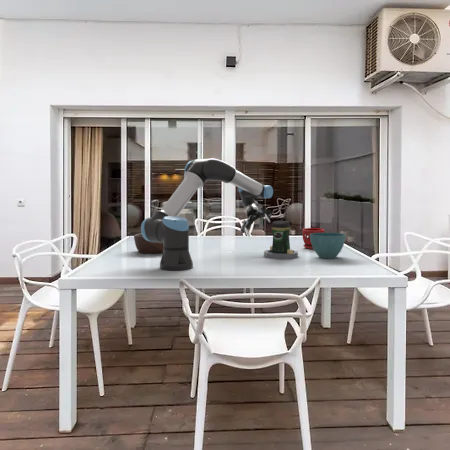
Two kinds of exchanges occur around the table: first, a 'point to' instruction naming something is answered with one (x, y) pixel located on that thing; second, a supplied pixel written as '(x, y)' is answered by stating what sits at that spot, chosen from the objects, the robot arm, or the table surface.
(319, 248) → the plant pot
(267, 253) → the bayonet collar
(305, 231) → the plant pot
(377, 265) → the table surface
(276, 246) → the coffee jar
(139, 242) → the wooden bowl
